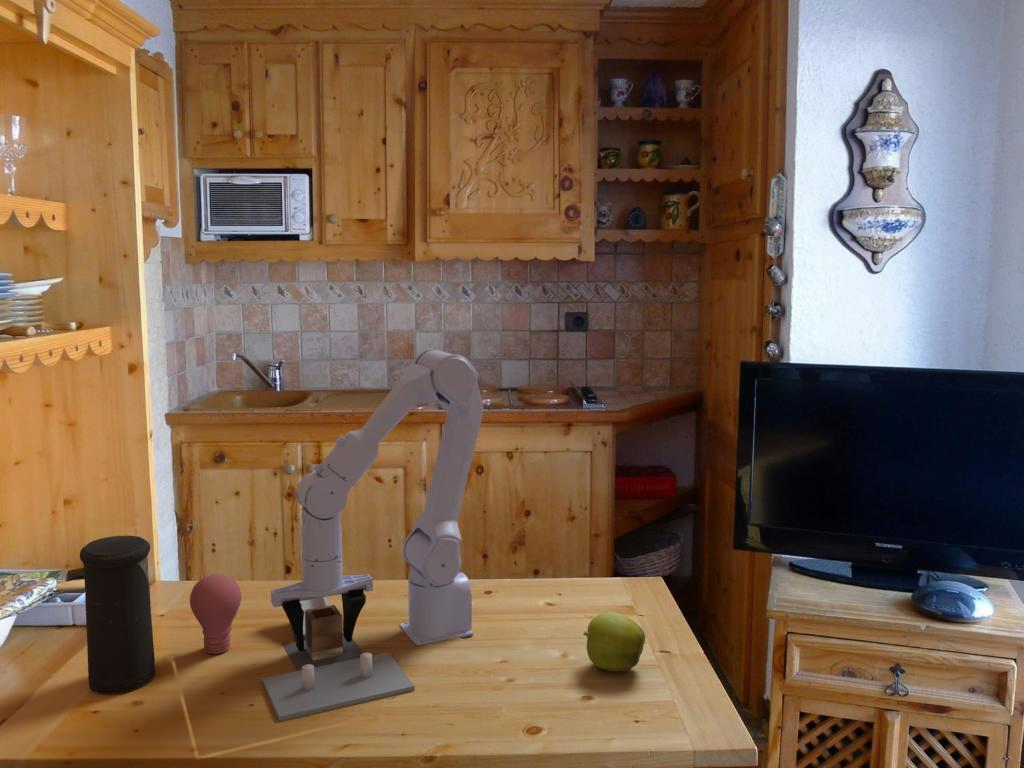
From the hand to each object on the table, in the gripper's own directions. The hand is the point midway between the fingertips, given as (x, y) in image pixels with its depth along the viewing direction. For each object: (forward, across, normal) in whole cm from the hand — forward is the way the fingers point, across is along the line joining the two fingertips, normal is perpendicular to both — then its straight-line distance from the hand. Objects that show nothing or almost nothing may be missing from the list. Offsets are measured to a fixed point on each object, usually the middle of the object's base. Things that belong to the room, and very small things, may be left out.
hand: (324, 643), depth 127 cm
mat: (+2, 0, 0) cm, 2 cm away
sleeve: (+1, 0, 0) cm, 1 cm away
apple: (+2, -36, +22) cm, 42 cm away
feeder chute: (+2, 0, -9) cm, 9 cm away
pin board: (+2, +1, +11) cm, 11 cm away
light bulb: (+2, +14, -7) cm, 16 cm away
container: (+2, +27, -4) cm, 27 cm away
